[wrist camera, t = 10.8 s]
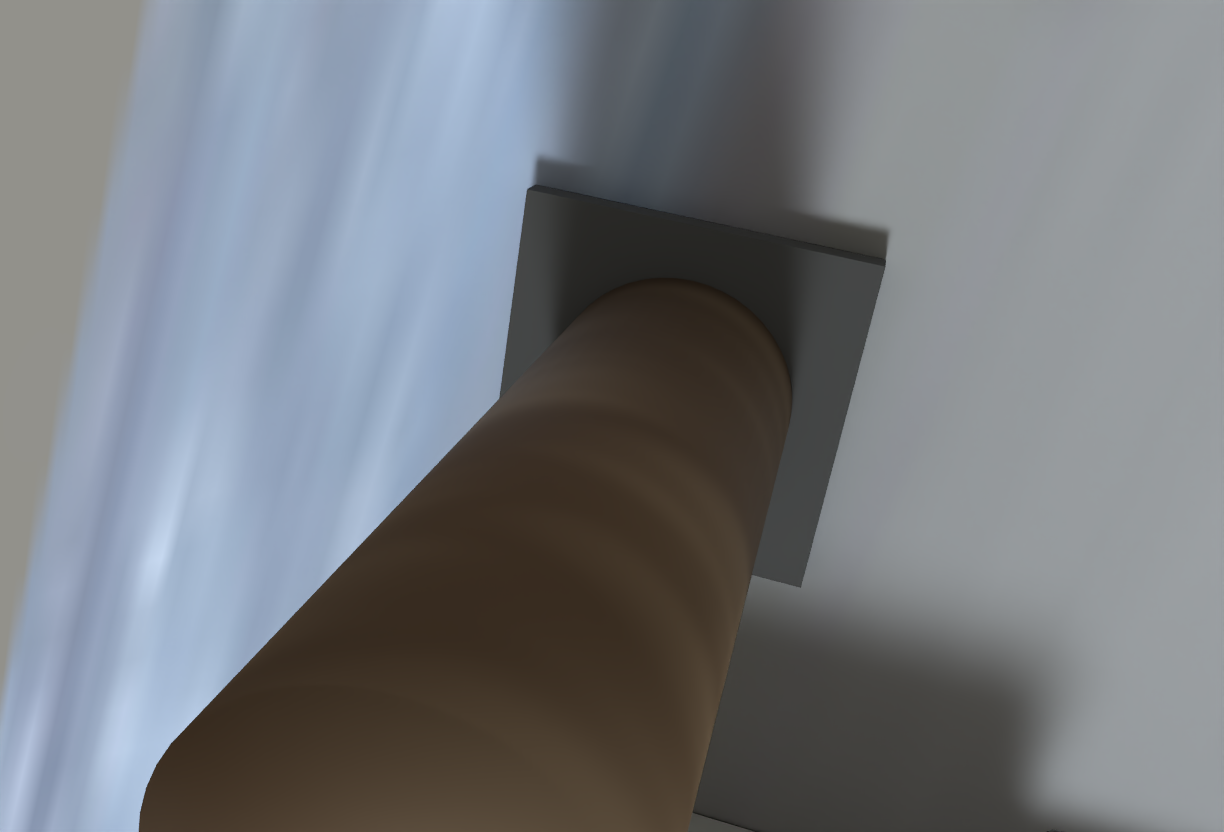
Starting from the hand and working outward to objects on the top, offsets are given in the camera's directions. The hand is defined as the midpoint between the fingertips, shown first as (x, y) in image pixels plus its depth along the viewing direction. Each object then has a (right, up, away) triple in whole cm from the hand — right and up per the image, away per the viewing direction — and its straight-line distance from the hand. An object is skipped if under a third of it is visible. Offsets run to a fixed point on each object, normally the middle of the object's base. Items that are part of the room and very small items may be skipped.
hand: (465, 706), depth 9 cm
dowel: (+2, +3, +7) cm, 8 cm away
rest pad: (+2, +3, +8) cm, 8 cm away
